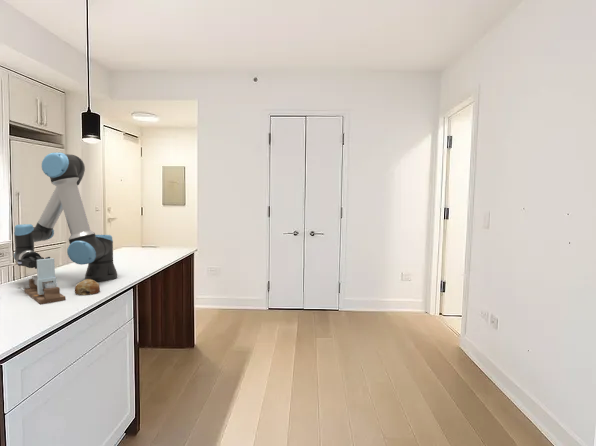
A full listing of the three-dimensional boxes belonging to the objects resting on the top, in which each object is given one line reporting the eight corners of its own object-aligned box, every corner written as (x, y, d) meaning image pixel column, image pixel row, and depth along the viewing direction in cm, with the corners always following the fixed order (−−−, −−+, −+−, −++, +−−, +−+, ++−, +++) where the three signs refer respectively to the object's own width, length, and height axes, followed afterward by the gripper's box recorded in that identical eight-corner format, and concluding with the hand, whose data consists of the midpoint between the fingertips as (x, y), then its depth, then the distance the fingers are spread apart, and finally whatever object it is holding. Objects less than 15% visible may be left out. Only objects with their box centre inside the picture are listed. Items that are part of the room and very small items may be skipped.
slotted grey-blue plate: (37, 293, 166) (36, 259, 165) (54, 291, 171) (53, 258, 170) (39, 295, 164) (37, 260, 163) (56, 292, 169) (55, 258, 168)
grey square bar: (32, 283, 179) (31, 275, 179) (40, 281, 181) (40, 274, 181) (47, 293, 162) (46, 285, 161) (56, 291, 164) (56, 283, 164)
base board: (24, 291, 178) (23, 279, 178) (47, 288, 185) (46, 276, 184) (40, 304, 159) (39, 291, 158) (65, 300, 165) (65, 287, 165)
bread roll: (74, 303, 173) (74, 289, 169) (75, 289, 181) (74, 275, 177) (100, 301, 178) (99, 286, 174) (99, 286, 185) (99, 273, 182)
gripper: (46, 265, 190) (61, 272, 174) (13, 268, 181) (26, 276, 165) (45, 249, 190) (61, 255, 173) (13, 252, 180) (25, 258, 164)
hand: (44, 265), depth 169 cm, fingers closed
